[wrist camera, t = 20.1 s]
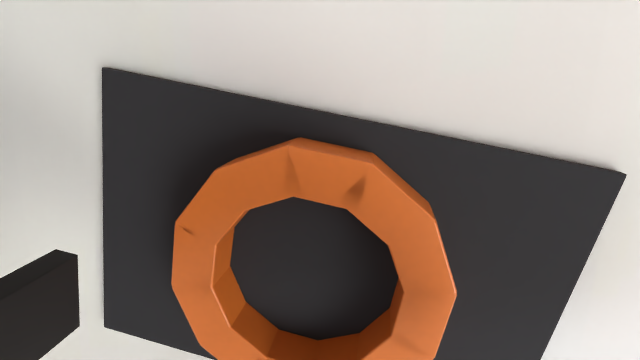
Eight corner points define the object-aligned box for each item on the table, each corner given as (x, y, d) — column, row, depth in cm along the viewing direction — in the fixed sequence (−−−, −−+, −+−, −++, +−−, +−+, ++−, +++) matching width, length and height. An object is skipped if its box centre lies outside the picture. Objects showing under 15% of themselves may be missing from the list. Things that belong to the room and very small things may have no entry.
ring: (187, 334, 17) (165, 361, 15) (204, 116, 14) (179, 121, 12) (405, 397, 16) (408, 435, 14) (479, 175, 13) (494, 190, 11)
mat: (109, 322, 18) (103, 327, 18) (108, 67, 15) (101, 67, 14) (498, 436, 16) (501, 445, 16) (620, 171, 12) (627, 174, 12)
